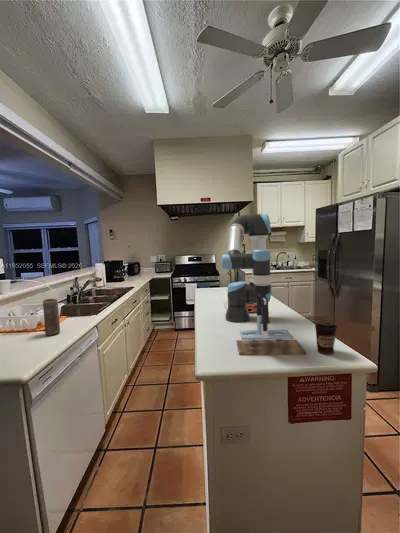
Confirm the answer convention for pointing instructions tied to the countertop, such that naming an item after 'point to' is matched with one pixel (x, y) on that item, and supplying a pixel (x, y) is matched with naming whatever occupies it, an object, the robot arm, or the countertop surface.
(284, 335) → the panel
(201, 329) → the countertop surface
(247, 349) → the boss board
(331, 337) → the coffee cup
